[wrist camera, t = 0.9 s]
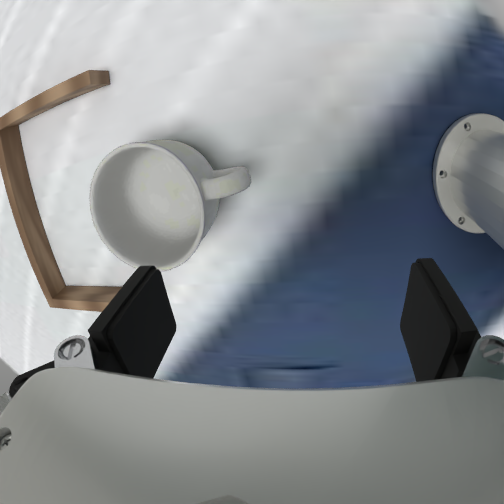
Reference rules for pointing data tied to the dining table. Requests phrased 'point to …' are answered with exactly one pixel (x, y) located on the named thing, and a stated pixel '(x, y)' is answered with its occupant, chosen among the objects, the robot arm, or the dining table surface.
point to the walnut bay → (24, 205)
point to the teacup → (158, 201)
